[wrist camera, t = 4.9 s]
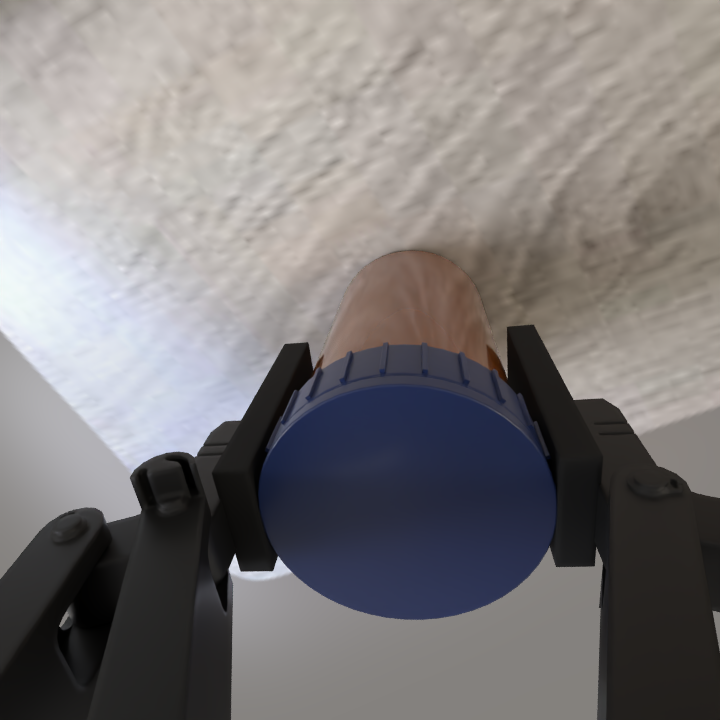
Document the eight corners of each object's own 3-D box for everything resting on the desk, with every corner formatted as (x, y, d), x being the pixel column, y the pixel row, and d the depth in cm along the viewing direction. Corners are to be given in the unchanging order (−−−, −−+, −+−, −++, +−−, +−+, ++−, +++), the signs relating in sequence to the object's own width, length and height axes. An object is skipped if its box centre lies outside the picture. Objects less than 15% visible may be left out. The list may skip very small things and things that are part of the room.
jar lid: (405, 594, 14) (404, 659, 13) (225, 456, 13) (196, 508, 11) (599, 466, 12) (628, 525, 10) (405, 281, 11) (402, 314, 9)
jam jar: (410, 408, 22) (404, 629, 13) (311, 320, 21) (223, 494, 12) (514, 320, 20) (598, 507, 11) (411, 217, 19) (403, 326, 10)
